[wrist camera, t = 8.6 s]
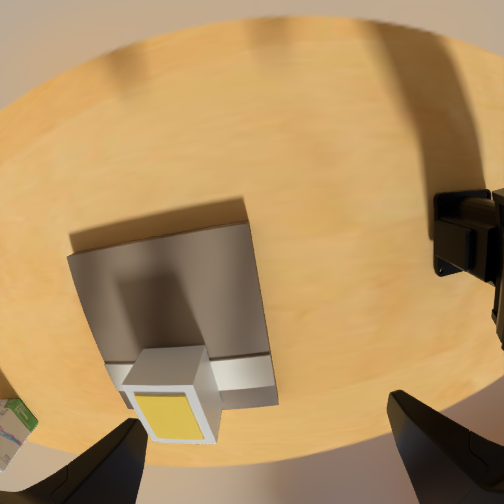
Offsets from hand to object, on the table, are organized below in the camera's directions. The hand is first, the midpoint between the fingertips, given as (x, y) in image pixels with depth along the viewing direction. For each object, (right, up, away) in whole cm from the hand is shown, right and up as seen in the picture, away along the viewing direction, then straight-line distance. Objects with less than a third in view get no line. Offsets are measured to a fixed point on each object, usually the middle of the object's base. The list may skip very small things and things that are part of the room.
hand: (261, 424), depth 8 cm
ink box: (-36, -18, +18) cm, 44 cm away
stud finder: (-6, -4, +12) cm, 14 cm away
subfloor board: (-6, 0, +13) cm, 14 cm away
